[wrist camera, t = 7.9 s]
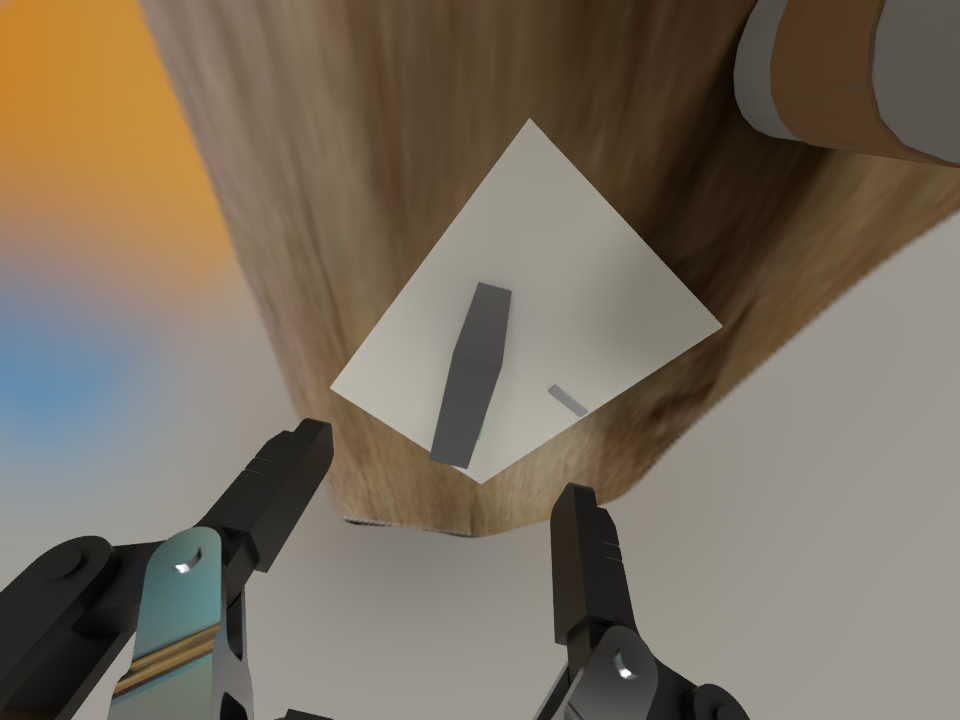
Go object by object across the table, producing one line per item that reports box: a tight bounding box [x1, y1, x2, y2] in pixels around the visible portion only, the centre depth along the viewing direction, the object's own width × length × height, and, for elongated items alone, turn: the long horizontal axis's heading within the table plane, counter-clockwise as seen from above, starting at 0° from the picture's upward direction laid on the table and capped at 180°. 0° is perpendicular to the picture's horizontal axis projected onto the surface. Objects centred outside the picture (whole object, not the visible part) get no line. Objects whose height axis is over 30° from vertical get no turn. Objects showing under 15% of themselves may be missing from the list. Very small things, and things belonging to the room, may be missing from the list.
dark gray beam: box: [429, 282, 512, 469], centre depth 18 cm, size 2×11×7 cm, turn 167°
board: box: [330, 118, 723, 484], centre depth 22 cm, size 20×14×3 cm
